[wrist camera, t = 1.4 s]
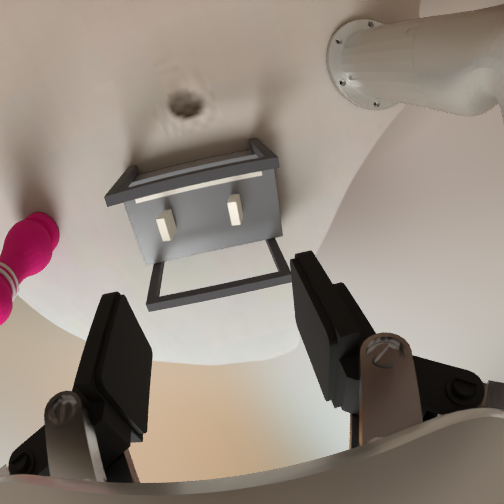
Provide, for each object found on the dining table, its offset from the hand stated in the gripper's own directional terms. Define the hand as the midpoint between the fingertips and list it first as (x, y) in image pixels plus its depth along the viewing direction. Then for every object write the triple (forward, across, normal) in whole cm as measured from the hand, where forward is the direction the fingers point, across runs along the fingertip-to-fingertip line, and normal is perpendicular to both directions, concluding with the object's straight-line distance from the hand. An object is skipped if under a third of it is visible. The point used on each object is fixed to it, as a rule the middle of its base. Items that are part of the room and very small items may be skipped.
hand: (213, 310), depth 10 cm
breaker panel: (+30, +2, +7) cm, 30 cm away
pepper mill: (+30, +26, +5) cm, 39 cm away
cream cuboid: (+26, -2, +7) cm, 27 cm away
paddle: (+26, +6, +7) cm, 28 cm away
